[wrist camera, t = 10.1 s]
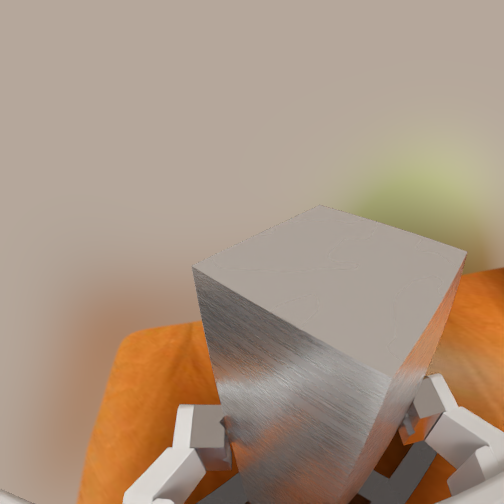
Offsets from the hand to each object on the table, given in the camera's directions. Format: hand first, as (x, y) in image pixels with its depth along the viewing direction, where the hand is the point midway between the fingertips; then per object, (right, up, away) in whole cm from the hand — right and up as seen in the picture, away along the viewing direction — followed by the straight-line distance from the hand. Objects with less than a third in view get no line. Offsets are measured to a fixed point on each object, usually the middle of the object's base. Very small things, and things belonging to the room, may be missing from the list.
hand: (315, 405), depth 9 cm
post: (+1, -7, +3) cm, 8 cm away
